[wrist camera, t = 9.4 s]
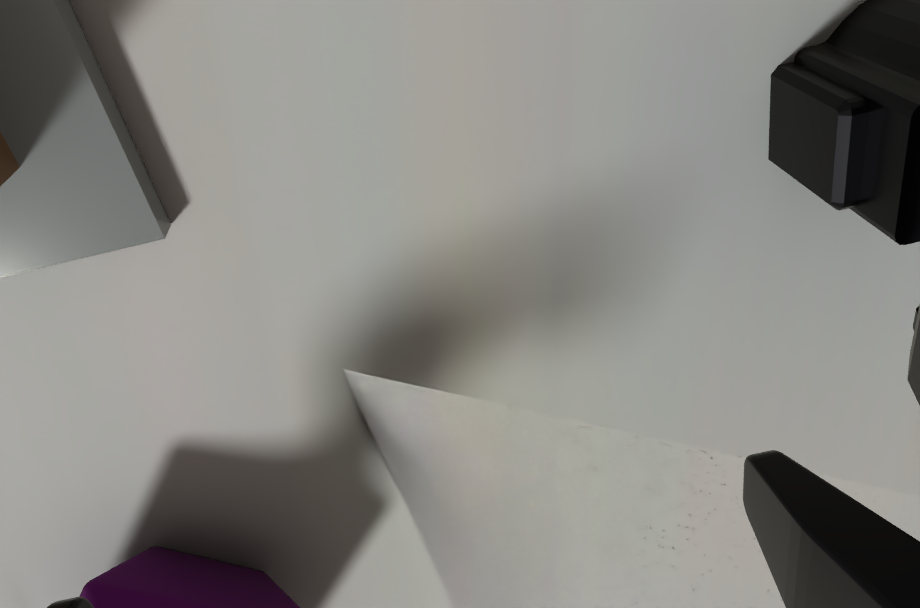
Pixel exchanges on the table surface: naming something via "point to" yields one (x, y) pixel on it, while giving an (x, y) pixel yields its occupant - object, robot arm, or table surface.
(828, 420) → the table surface
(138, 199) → the slate coaster
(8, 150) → the walnut cube
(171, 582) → the perfume bottle
